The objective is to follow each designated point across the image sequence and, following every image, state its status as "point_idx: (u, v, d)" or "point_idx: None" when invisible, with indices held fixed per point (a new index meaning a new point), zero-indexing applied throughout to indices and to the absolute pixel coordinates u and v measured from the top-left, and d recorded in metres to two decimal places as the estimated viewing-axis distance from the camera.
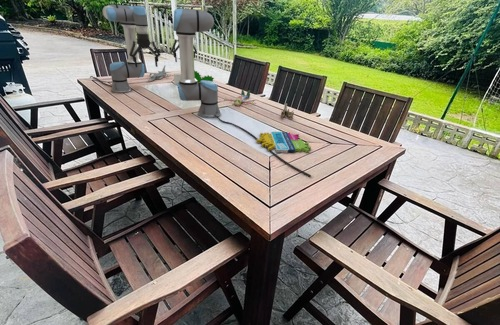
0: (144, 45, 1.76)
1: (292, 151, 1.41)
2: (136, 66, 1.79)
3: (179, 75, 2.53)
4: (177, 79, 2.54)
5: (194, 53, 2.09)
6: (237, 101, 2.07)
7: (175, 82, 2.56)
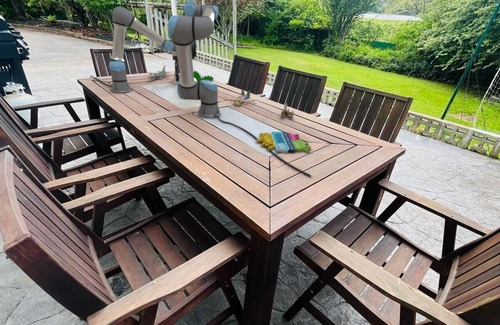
0: None
1: (292, 151, 1.41)
2: None
3: (179, 75, 2.53)
4: None
5: None
6: (237, 101, 2.07)
7: (175, 82, 2.56)
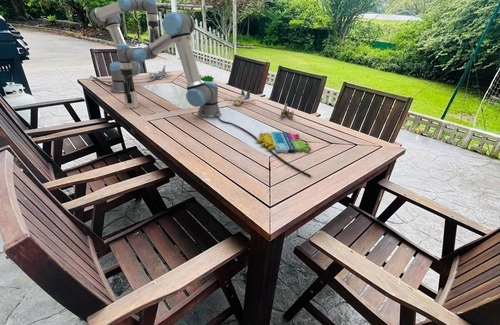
0: None
1: (292, 151, 1.41)
2: None
3: (132, 95, 1.85)
4: None
5: None
6: (237, 101, 2.07)
7: (127, 104, 1.88)
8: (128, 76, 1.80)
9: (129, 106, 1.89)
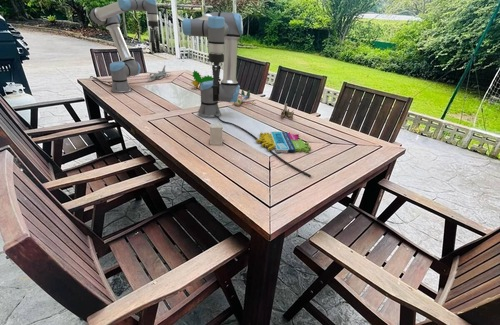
0: None
1: (292, 151, 1.41)
2: None
3: (220, 129, 1.41)
4: (215, 135, 1.42)
5: (219, 80, 1.39)
6: (237, 101, 2.07)
7: (212, 140, 1.44)
8: (218, 64, 1.26)
9: (214, 142, 1.44)
